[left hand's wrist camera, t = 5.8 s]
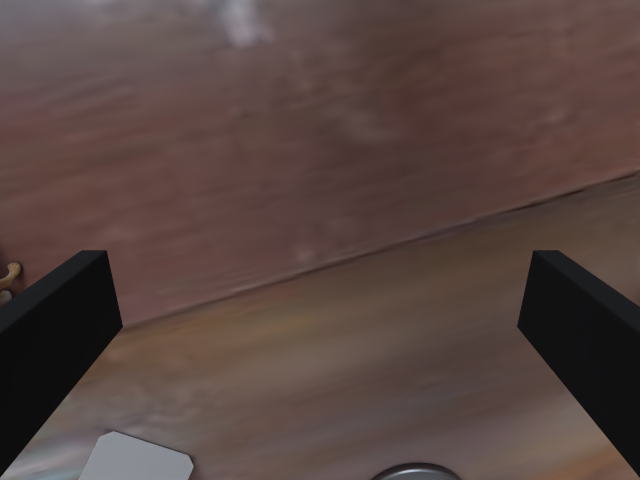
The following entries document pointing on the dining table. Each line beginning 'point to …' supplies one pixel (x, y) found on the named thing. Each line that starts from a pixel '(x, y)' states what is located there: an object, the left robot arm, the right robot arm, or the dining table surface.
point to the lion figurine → (8, 282)
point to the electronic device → (134, 460)
